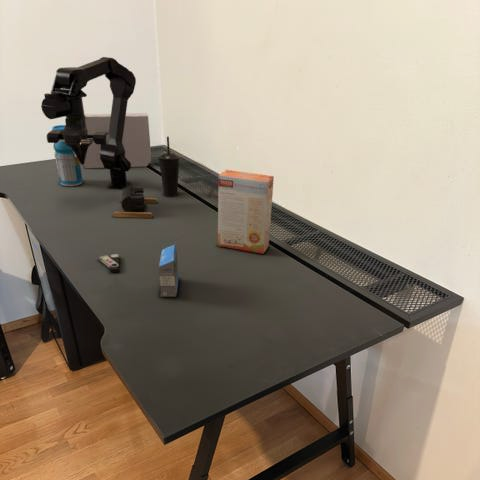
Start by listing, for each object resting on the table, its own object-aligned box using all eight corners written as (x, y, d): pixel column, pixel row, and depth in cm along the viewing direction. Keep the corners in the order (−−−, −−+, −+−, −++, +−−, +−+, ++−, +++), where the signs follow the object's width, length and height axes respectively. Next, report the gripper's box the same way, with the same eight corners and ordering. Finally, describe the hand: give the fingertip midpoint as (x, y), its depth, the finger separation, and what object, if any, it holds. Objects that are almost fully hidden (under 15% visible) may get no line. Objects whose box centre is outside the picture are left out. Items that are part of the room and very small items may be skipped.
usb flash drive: (119, 271, 117) (119, 268, 116) (98, 273, 116) (97, 269, 115) (119, 256, 124) (119, 253, 123) (99, 257, 123) (99, 254, 122)
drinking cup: (183, 191, 168) (181, 134, 157) (178, 198, 162) (176, 140, 151) (162, 190, 169) (159, 133, 157) (157, 197, 163) (153, 138, 151)
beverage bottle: (65, 188, 166) (54, 130, 155) (56, 182, 171) (45, 125, 160) (87, 184, 171) (78, 128, 159) (78, 178, 176) (69, 123, 164)
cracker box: (269, 246, 133) (275, 175, 121) (263, 255, 128) (268, 181, 116) (224, 238, 136) (226, 168, 124) (217, 246, 132) (217, 174, 120)
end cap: (123, 205, 155) (121, 185, 151) (144, 204, 156) (143, 185, 152) (122, 216, 147) (120, 196, 143) (144, 215, 148) (143, 195, 144)
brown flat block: (122, 201, 158) (121, 197, 157) (156, 202, 158) (156, 198, 158) (114, 217, 146) (113, 212, 145) (151, 218, 147) (151, 213, 146)
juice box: (163, 278, 115) (160, 233, 108) (178, 278, 116) (176, 233, 108) (160, 297, 108) (156, 250, 101) (176, 297, 108) (174, 250, 101)
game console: (85, 164, 191) (77, 113, 179) (150, 162, 197) (147, 113, 185) (84, 168, 186) (76, 116, 175) (151, 166, 192) (148, 115, 181)
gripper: (36, 118, 136) (46, 170, 145) (99, 120, 136) (105, 172, 145) (47, 110, 145) (57, 160, 154) (106, 113, 146) (112, 162, 155)
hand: (82, 164), depth 152 cm, fingers closed
